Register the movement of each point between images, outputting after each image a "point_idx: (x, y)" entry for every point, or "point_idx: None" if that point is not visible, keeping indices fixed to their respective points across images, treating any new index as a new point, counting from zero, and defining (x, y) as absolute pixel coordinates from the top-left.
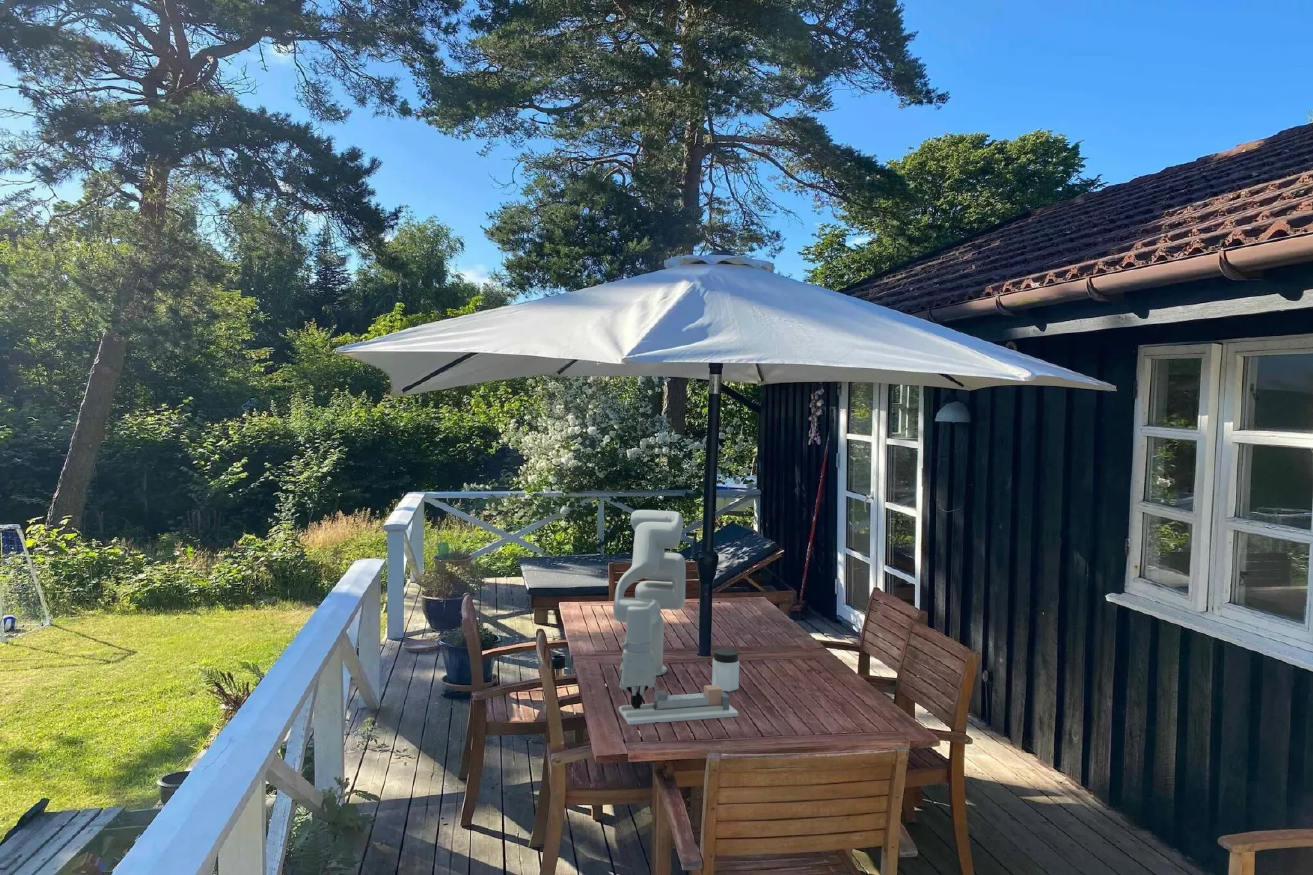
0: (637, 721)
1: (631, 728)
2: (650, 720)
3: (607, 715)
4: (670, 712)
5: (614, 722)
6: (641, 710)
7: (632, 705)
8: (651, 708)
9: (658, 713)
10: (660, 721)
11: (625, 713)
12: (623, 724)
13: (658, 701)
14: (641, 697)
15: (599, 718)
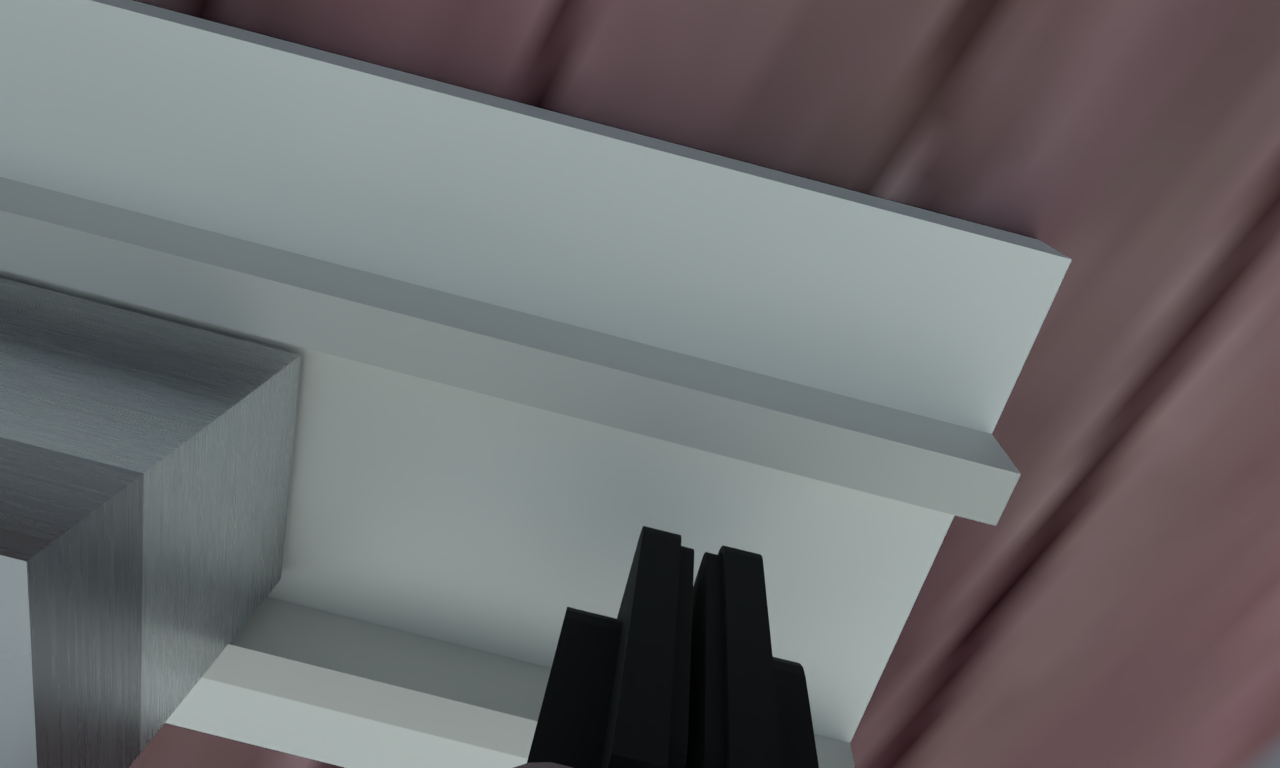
0: (878, 206)
1: (1125, 39)
2: (594, 128)
3: (1058, 755)
4: (34, 201)
5: (1182, 471)
6: (529, 603)
7: (783, 663)
8: (315, 606)
9: (310, 270)
10: (383, 67)
11: (875, 614)
12: (1110, 314)
13: (139, 459)
14: (556, 736)
15: (1262, 716)
